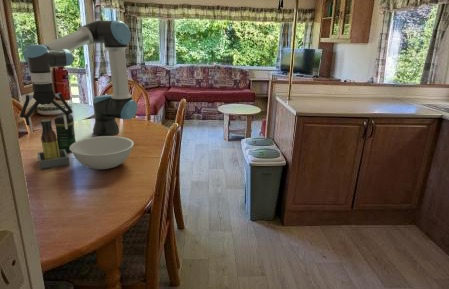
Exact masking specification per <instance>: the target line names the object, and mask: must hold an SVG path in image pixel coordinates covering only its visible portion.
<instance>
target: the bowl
mask: <svg viewBox="0 0 449 289" xmlns="http://www.w3.org/2000/svg"><path fill="white" fill-rule="evenodd" d="M134 144H135V142H134V141H133V140H132V139H130V138H128V137H124V136H116V135H110V136H92V137H88V138H87V137H86V138H83V139H80V140H77V141H76V142H75V143H73V144H72V145H71V146H70V147H69V149H70V151H72V155H73V157H74V158H75V160H77V161H78V162H79V163H80V164H81V165H83V166H84V167H86V168H88V169H92V170H109V169H113V168H115V167H118V166H120V165H122V164H123V163H124V162H125V161H126V160H127V159H128V157H129V156H130V155H131V151H132V148H133V146H134Z"/></svg>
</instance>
